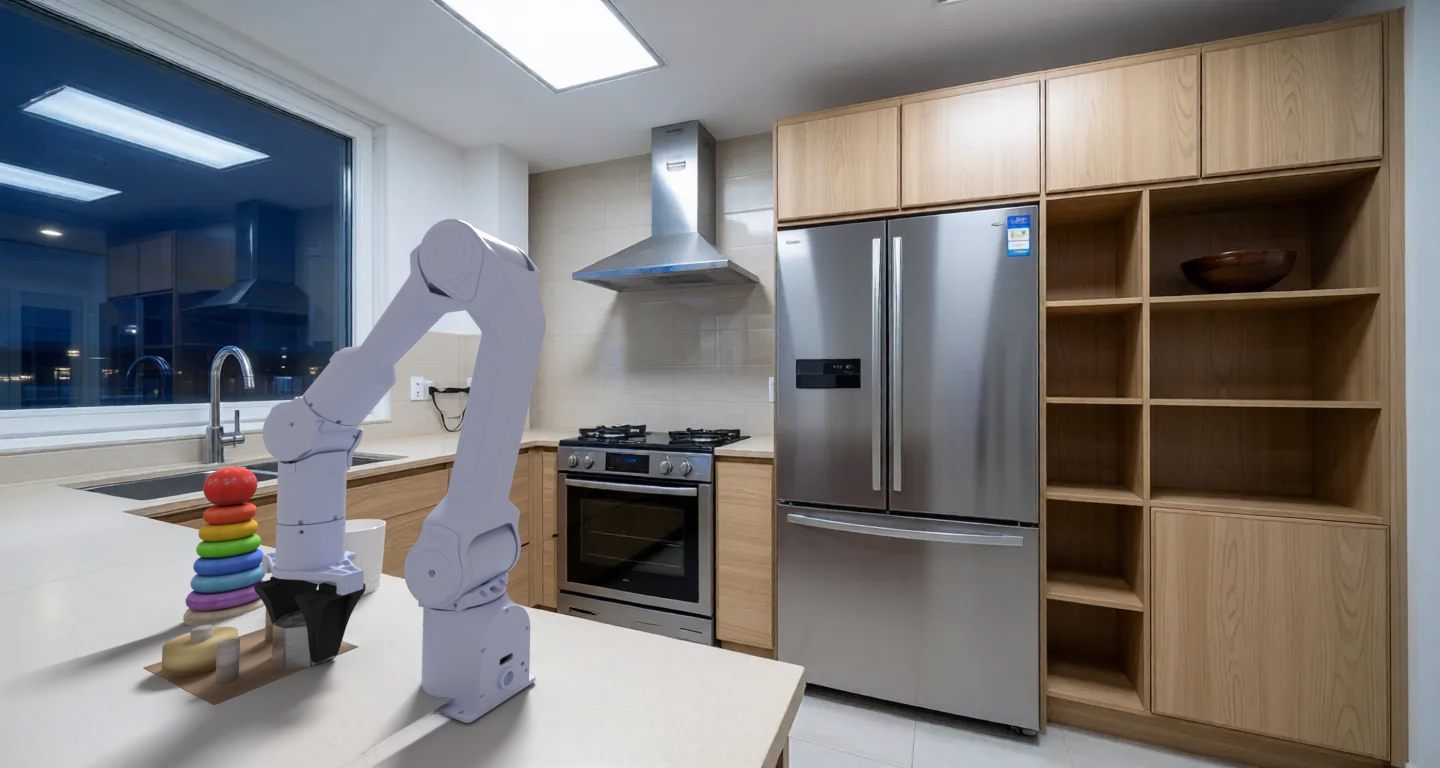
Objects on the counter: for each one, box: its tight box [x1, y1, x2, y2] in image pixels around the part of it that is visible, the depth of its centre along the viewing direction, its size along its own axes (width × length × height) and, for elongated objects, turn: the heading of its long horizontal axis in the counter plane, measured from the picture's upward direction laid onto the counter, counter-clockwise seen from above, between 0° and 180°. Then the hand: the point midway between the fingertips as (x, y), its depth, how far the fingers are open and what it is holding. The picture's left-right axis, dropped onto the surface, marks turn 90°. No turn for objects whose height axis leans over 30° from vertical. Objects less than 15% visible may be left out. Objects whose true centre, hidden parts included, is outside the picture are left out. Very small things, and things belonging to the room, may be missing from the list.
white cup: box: [345, 518, 387, 596], centre depth 73 cm, size 8×8×10 cm
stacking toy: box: [182, 466, 266, 626], centre depth 67 cm, size 8×8×19 cm
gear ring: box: [272, 610, 344, 670], centre depth 55 cm, size 5×5×4 cm
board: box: [143, 608, 359, 706], centre depth 55 cm, size 14×12×5 cm
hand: (308, 651), depth 55 cm, fingers closed on gear ring, 5 cm apart
